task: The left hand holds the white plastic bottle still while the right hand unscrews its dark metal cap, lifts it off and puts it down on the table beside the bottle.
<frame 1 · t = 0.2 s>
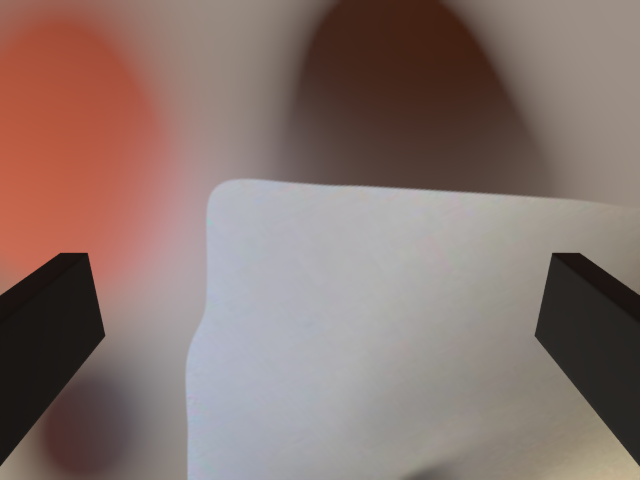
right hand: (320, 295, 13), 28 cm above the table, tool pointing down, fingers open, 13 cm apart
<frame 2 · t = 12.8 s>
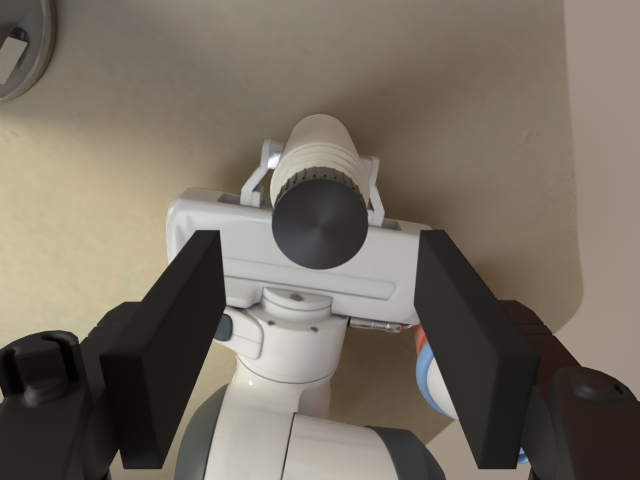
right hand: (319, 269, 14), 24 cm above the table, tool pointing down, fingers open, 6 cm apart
left hand: (321, 148, 30), fingers closed on bottle, 5 cm apart
cup with straw: (441, 302, 42), on the table
cap: (319, 223, 18), point 20 cm above the table, screwed on, not yet turned
bottle: (320, 146, 37), on the table, touching left hand
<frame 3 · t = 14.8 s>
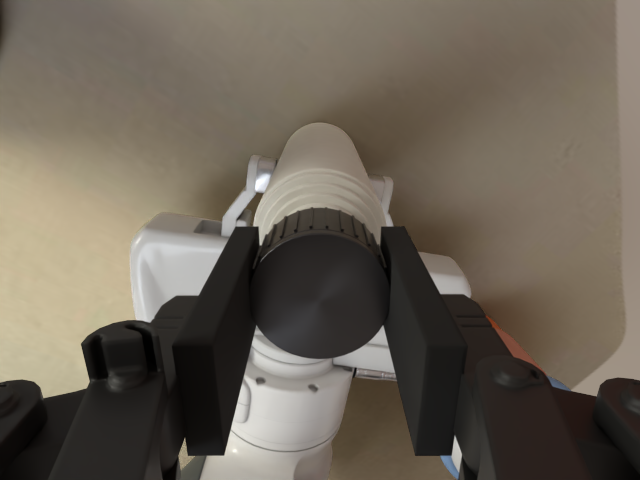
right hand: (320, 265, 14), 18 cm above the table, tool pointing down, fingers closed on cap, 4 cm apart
cup with straw: (460, 339, 36), on the table
cap: (319, 295, 13), point 20 cm above the table, screwed on, not yet turned, touching right hand
bottle: (319, 160, 31), on the table, touching left hand
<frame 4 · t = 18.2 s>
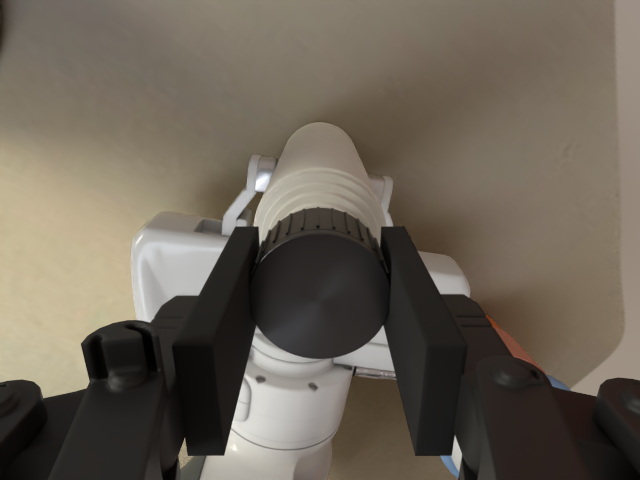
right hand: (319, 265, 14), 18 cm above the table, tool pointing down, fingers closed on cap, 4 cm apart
cup with straw: (460, 338, 37), on the table
cap: (319, 295, 13), point 20 cm above the table, turned 106° so far, risen 0.1 cm, still on its thread, touching right hand
bottle: (319, 160, 31), on the table, touching left hand
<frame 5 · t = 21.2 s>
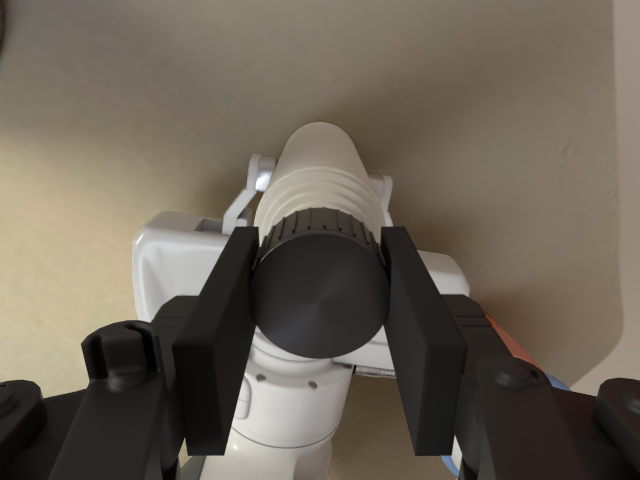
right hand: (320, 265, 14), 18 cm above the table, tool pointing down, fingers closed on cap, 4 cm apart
cup with straw: (459, 337, 37), on the table
cap: (319, 294, 13), point 20 cm above the table, turned 213° so far, risen 0.3 cm, still on its thread, touching right hand
bottle: (319, 159, 31), on the table, touching left hand
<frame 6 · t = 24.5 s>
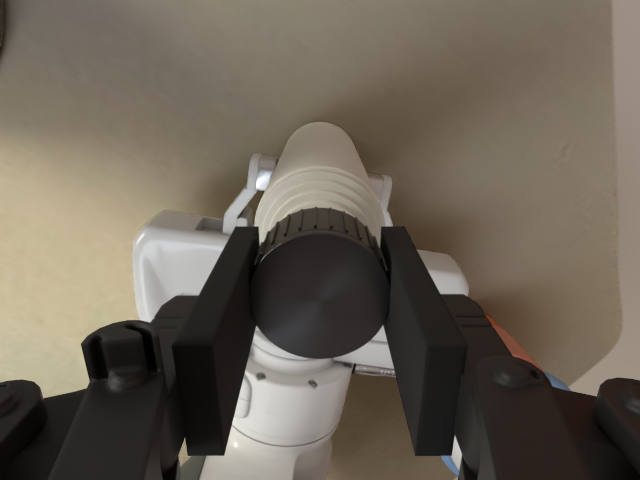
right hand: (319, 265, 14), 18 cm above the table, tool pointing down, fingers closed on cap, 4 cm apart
cup with straw: (459, 336, 37), on the table
cap: (319, 295, 13), point 20 cm above the table, turned 319° so far, risen 0.4 cm, still on its thread, touching right hand
bottle: (319, 159, 31), on the table, touching left hand
when the right hand's fingers open (1 cm above the table, at t = 30.4 s): cap drops 1 cm, point 2 cm above the table.
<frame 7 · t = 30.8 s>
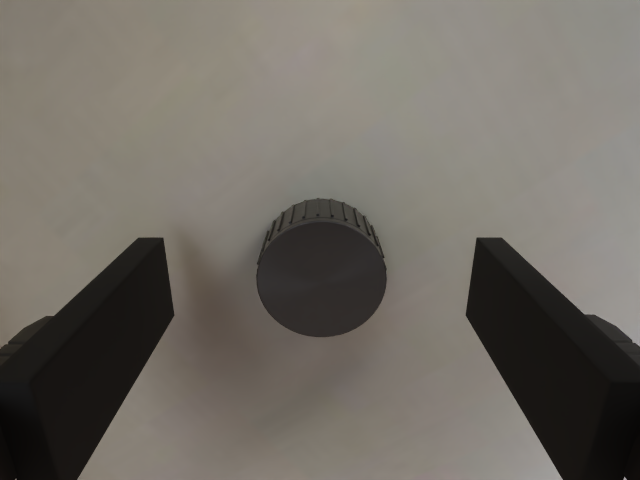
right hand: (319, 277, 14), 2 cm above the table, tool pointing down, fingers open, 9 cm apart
cap: (321, 278, 14), point 2 cm above the table, off its thread
when the left hand's fingers open (7 cm above the table, at t = 31.8 s): bottle stays where it is, on the table.
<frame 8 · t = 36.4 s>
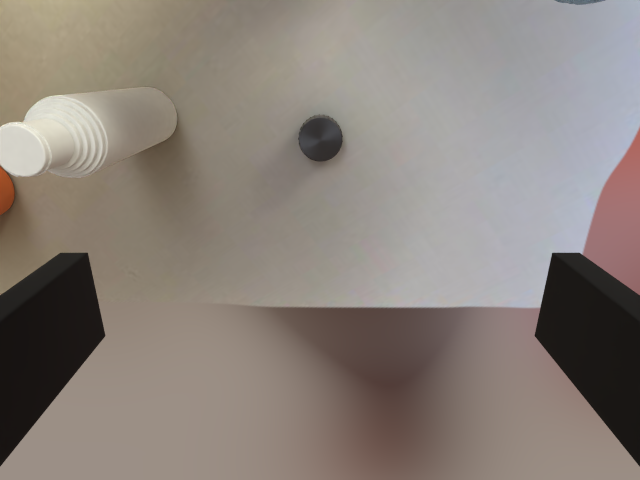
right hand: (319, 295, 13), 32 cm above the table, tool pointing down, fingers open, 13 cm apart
cap: (320, 139, 41), point 2 cm above the table, off its thread
bottle: (150, 115, 42), on the table
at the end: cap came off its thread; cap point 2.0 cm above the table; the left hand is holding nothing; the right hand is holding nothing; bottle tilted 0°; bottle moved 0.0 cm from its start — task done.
